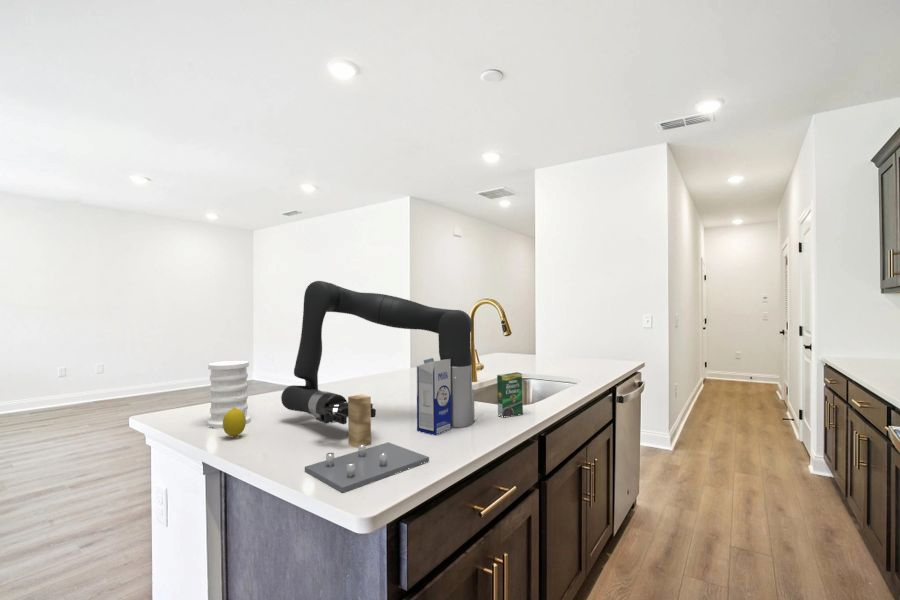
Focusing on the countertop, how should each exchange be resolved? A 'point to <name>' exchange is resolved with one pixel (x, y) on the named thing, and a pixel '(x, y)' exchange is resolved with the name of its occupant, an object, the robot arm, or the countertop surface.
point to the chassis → (364, 465)
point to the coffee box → (510, 394)
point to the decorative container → (227, 390)
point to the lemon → (234, 422)
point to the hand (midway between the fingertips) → (360, 416)
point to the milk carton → (434, 396)
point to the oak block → (359, 420)
